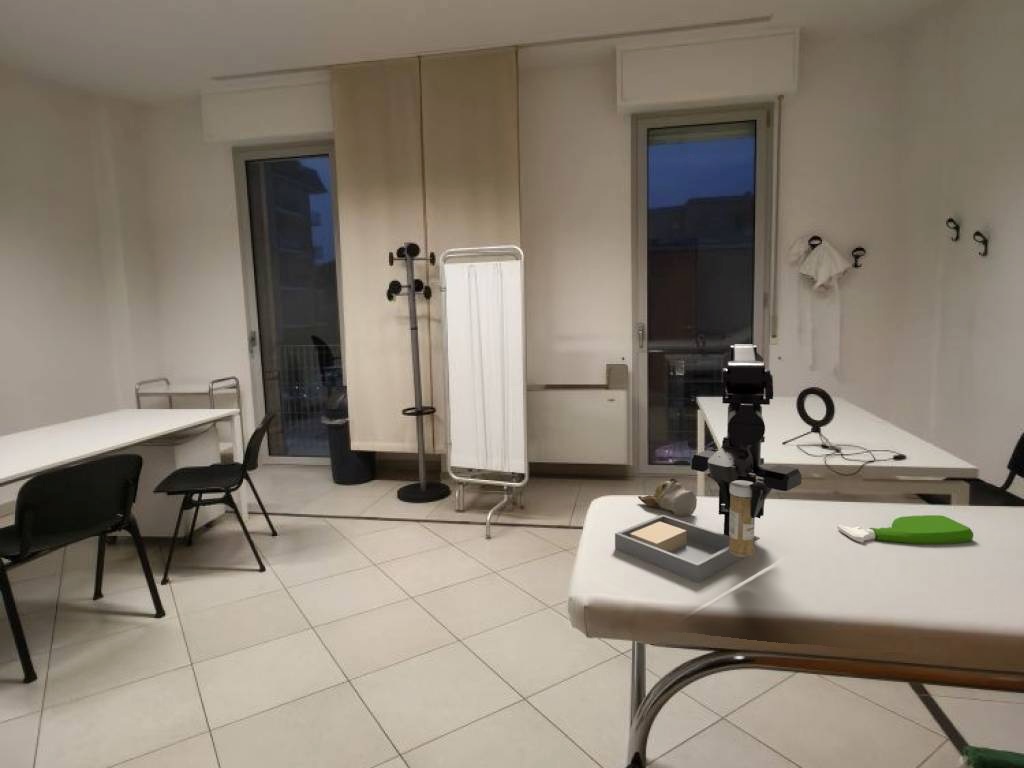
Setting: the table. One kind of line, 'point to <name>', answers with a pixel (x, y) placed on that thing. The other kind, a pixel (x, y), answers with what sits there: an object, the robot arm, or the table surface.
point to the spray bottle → (915, 531)
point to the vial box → (661, 536)
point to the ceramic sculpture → (672, 498)
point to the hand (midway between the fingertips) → (741, 514)
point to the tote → (681, 550)
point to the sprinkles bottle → (741, 519)
